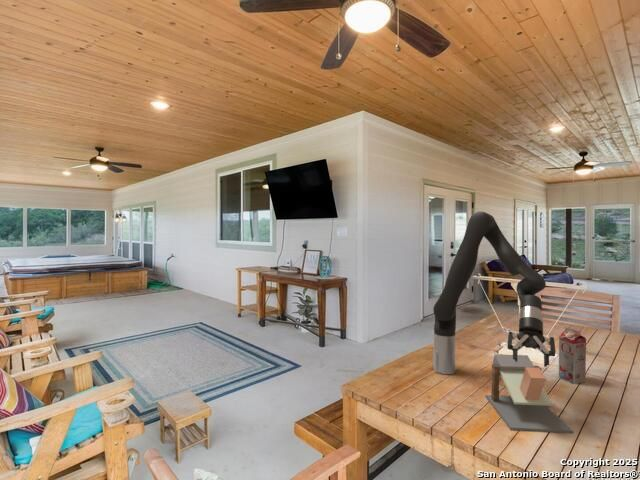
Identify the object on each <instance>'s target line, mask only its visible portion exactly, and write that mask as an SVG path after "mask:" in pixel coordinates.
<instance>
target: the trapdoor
mask: <svg viewBox="0 0 640 480" xmlns="http://www.w3.org/2000/svg"><path fill="white" fill-rule="evenodd" d="M492 364H495V365H498V366H499V377H501V379H502V381H503V383H504V385H505V388H506V389H507V391H508V393H509V396H511V398H512V400H513V402H514V404H521V405H544V406H547V407H551V406H552V407H553V404H554V403H553V402H552V399H551V398H550V396H549V395H548V393H547V391H546V389H545V388H544V387H543V389H542V392H541V395H540V398H539V400H534V399H525V398H524V396H523V394H522V392H521V390H520V385H521V381H522V378H523V374H524V371H525V367H531V368H535V367H534V366H535V365H534V364H533V362H532V361H531V359H530V357H529V355H527V354H526V355H524V354H518V356H517V362H515V360H513V354H496V353H494V355H493V361H492Z"/></svg>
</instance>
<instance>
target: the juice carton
mask: <svg viewBox="0 0 640 480" xmlns="http://www.w3.org/2000/svg"><path fill="white" fill-rule="evenodd" d="M586 354H587V338H586V337H584V336H583V335H581V331H580V330H577V329H573V328H570V327H566V326H564V331H562V332H561V333H560V334H559V335H558V378H559V379H561V380H564V381H566V382H569V383H571V384H579V383H580V384H581V383H586V369H587V367H586V366H587V361H586V360H587V355H586Z"/></svg>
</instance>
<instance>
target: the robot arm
mask: <svg viewBox="0 0 640 480" xmlns="http://www.w3.org/2000/svg"><path fill="white" fill-rule="evenodd" d="M484 238H485V239H486V240H487V241H488V243H490V245H491V247H492V248H493V250H494V252H495V253H496V256H497V257H498V259H499V261H500V262H501V264H502V265H503V266H504V267H505V269H506V270H507V272H508V273H509V274H510V275H511V276H518V275H520V276H522V277H523V279H521V280H520V281H518V283H517V285H516V289H515V290H516V294H517V296H518V299H519V315H518V333H513V331H508V335H507V336H508V337H507V343H506V344H507V346H506V347H507V350H511V351H512V355H513V360H515V362H517V356H518V355H519V354H518V353H519V352H518V351H519V350H521V349H522V348H523V347H525V348H526V349H528V348H529V349H534V350H536V349H537V350H538V351H539V352H540V353H542V355H543V366H544V368H547V366H549V365H550V357H555V356H556V345H555V338H554V337H553V336H551V337H545V335H544V317H543V308H542V307H543V304H542V303H543V302H542V299H541V298H540V297H539V296H538V295H536V294H538V293H540V292H541V291H543V290H545V288H546V286H547V285H546V284H547V283H546V280H545V278H544V277H543V275H541V274H540V273H539V272H537V271H536V270H535V269H534V268H532V267H531V266H530V265H528V264H527V263H526V262H525V260H524V259H523V258H522V256H520V255H519V252H517V251H516V249H515V248H514V247H513V245H511V244H510V242H509V241H508V239H507V238H506V236H505V235H504V234H503V232H502V231H501V229H500V227H499V225H498V223H497V221H496V219H495V218H494V216H493V215H491V214H490V213H487V212H485V211H477V212H475V213H473V214H472V215H471V216H470V217H469V220H468V222H467V225H466V230H465V233H464V235H463V238H462V241H461V244H460V245H459V248H458V249H457V252H456V255H455V257H454V258H453V261H452V263H451V266H450V267H449V271H448V273H447V277H446V280H445V284H444V287H443V290H442V292H441V293H440V296H439V297H438V299H437V300H436V302H435V304H434V306H433V315H434V326H433V336H434V337H433V345H434V346H433V347H432V368H433V370H434V372H435V373H437V374H441V375H442V374H443V375H453V374H455V373H456V328H457V327H456V326H457V306H458V302H459V299H460V297H461V295H462V294H463V291H464V290H465V288H466V287H467V285H468V283H469V281H470V279H471V277H472V275H473V273H474V270H475V268H476V266H477V262H478V255H479V248H480V245H481V243H482V240H483V239H484ZM516 339H518V341H517V342H516V343H515V344H514V345H513V341H514V340H516ZM545 342H546V343H547V345H549V349H550V350H548V349H547V347H546V346H545V344H544V343H545Z"/></svg>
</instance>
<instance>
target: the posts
mask: <svg viewBox="0 0 640 480" xmlns="http://www.w3.org/2000/svg"><path fill="white" fill-rule="evenodd" d="M534 367H535V368H540V369H541V371H542V372H543V370H542V367H540V366H539V365H534ZM490 393H491V394H490V395H491V399H492V400H493V401H494V402H499V395H500V376H499V366H498V365H495V364H493V363H492V364H491V392H490Z"/></svg>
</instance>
